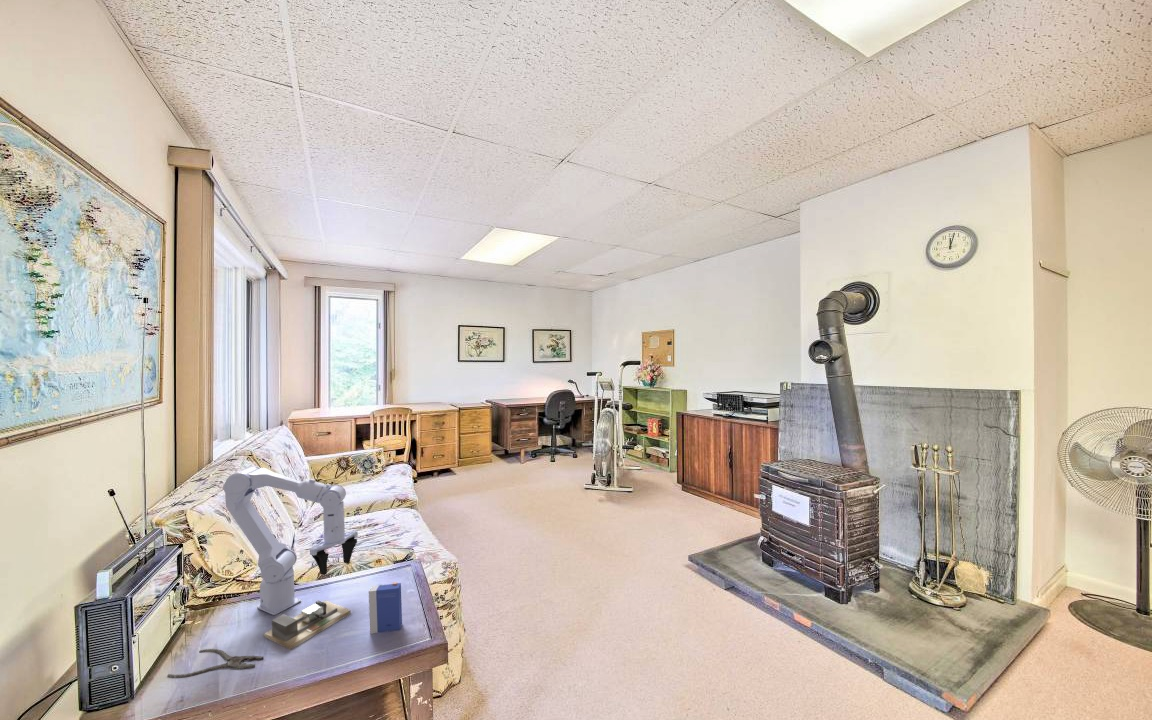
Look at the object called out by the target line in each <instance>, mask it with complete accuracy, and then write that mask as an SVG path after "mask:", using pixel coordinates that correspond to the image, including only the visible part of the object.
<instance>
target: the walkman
mask: <svg viewBox="0 0 1152 720" xmlns="http://www.w3.org/2000/svg"><path fill="white" fill-rule="evenodd" d="M402 604H403V603H402V583H401V582H399V583H398V582H392V583H391V584H380V585H373V586H371V588H369V590H368V612H369V613H368V615H369V634H378V633H385V632H393V631H400V630H401V627H402V626H403V613H402V612H403V611H402V610H403V608H402Z"/></svg>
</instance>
